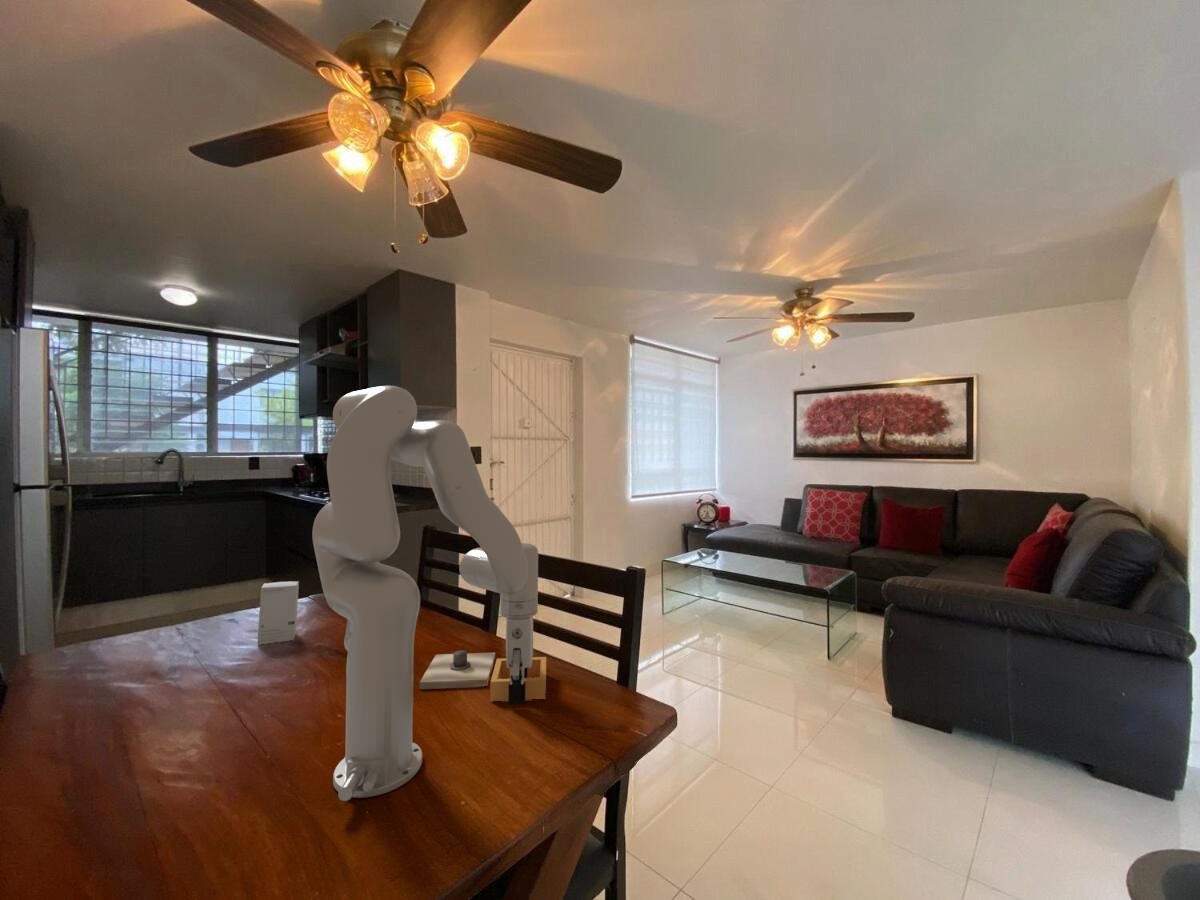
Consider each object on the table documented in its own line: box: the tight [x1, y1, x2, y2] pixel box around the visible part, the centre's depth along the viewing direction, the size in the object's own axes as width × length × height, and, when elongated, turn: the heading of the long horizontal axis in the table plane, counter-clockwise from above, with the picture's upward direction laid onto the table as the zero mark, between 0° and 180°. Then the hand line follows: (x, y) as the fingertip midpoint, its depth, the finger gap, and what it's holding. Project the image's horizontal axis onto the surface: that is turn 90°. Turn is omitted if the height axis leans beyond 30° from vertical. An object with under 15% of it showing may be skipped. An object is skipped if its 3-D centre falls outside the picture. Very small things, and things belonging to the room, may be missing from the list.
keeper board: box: [419, 649, 496, 690], centre depth 107 cm, size 14×14×4 cm
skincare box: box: [256, 580, 300, 646], centre depth 126 cm, size 8×6×15 cm
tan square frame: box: [489, 656, 547, 703], centre depth 101 cm, size 11×11×4 cm
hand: (518, 693), depth 96 cm, fingers open, 6 cm apart
